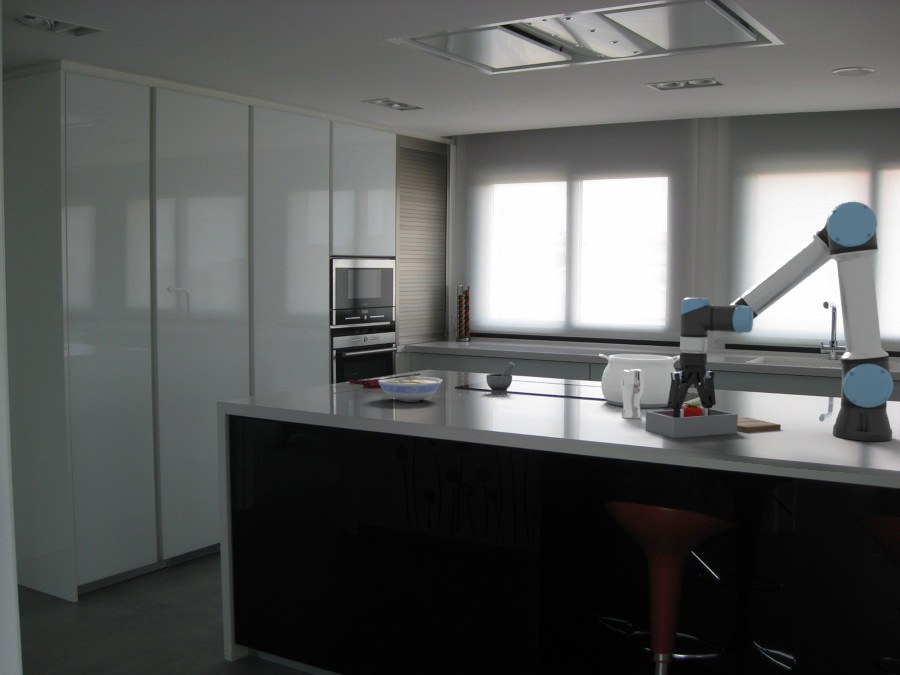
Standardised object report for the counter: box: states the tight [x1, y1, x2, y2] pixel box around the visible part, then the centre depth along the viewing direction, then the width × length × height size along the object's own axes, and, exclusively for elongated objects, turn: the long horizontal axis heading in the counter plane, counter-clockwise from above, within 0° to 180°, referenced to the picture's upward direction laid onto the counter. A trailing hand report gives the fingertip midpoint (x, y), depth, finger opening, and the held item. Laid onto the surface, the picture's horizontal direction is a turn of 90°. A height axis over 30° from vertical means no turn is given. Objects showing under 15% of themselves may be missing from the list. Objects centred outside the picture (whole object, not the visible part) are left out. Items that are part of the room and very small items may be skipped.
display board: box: [737, 417, 782, 433], centre depth 263 cm, size 14×13×2 cm
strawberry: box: [681, 402, 702, 417], centre depth 253 cm, size 6×8×10 cm
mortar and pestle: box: [485, 361, 516, 395], centre depth 332 cm, size 11×9×12 cm
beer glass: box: [621, 369, 643, 420], centre depth 279 cm, size 7×7×15 cm
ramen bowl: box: [371, 372, 443, 403], centre depth 310 cm, size 25×23×8 cm
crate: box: [645, 408, 739, 439], centre depth 254 cm, size 13×22×6 cm, turn 113°
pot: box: [598, 353, 680, 409], centre depth 308 cm, size 29×26×17 cm
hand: (690, 430), depth 254 cm, fingers open, 8 cm apart
